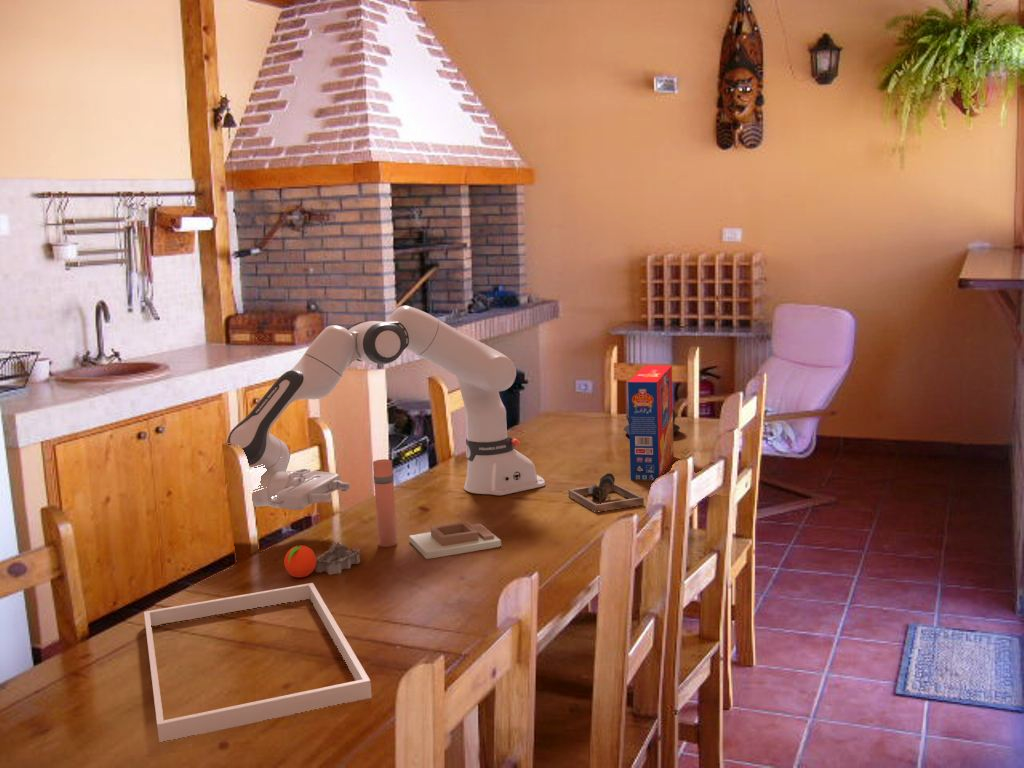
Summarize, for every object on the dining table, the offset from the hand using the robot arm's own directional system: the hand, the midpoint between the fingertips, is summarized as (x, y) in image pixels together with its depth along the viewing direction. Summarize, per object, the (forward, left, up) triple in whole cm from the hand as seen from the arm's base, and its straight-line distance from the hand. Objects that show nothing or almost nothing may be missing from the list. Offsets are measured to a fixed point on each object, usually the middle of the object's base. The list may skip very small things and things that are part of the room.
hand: (339, 492), depth 252 cm
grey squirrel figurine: (-69, 0, -12) cm, 70 cm away
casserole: (-117, -61, -12) cm, 133 cm away
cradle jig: (-23, +16, -12) cm, 30 cm away
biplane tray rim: (+30, +59, -12) cm, 67 cm away
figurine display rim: (-69, +2, -12) cm, 70 cm away
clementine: (+14, +21, -12) cm, 28 cm away
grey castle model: (+5, +17, -13) cm, 22 cm away
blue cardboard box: (-96, -22, -12) cm, 99 cm away
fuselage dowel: (-9, +8, -12) cm, 17 cm away
